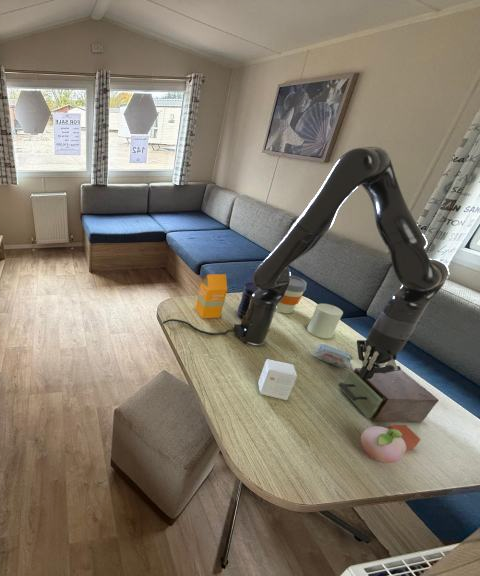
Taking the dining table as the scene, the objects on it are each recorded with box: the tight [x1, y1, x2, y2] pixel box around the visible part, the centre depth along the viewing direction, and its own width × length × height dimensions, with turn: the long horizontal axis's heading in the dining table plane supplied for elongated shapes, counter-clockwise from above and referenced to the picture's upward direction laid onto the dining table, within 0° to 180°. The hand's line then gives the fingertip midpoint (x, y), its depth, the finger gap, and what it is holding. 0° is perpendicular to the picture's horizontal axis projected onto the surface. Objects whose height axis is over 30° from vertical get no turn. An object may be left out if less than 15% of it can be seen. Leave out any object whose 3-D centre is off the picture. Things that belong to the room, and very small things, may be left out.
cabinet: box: [353, 367, 440, 424], centre depth 95 cm, size 15×13×10 cm
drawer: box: [338, 370, 385, 419], centre depth 95 cm, size 18×11×8 cm, turn 90°
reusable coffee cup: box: [275, 275, 308, 314], centre depth 145 cm, size 13×13×15 cm
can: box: [306, 303, 344, 339], centre depth 129 cm, size 9×9×12 cm
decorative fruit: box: [360, 425, 407, 464], centre depth 80 cm, size 9×8×10 cm
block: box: [387, 424, 422, 451], centre depth 85 cm, size 4×4×4 cm
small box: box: [257, 358, 298, 401], centre depth 99 cm, size 8×6×10 cm
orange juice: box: [195, 273, 228, 319], centre depth 138 cm, size 8×9×20 cm
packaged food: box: [312, 343, 354, 371], centre depth 114 cm, size 9×12×5 cm
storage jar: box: [236, 282, 259, 320], centre depth 137 cm, size 10×10×15 cm
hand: (364, 377), depth 91 cm, fingers closed
